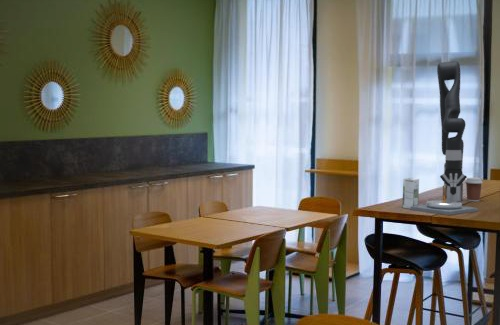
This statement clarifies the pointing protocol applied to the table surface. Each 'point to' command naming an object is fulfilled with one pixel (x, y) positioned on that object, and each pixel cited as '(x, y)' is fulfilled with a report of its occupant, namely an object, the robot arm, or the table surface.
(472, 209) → the base
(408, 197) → the syrup box
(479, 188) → the coffee cup
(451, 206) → the dial
